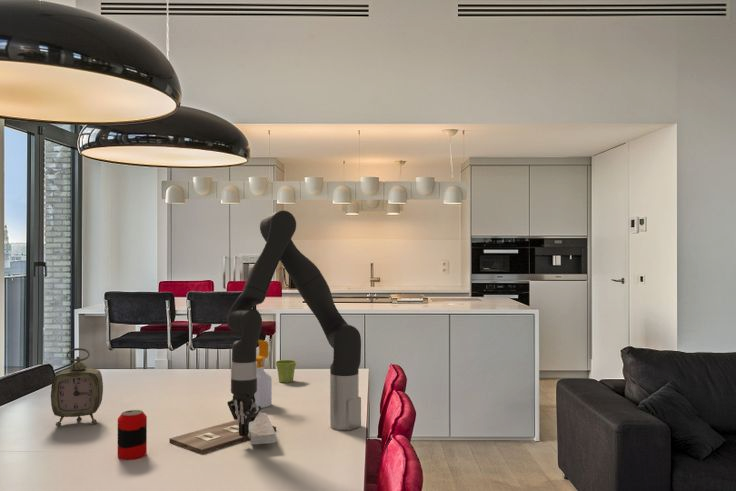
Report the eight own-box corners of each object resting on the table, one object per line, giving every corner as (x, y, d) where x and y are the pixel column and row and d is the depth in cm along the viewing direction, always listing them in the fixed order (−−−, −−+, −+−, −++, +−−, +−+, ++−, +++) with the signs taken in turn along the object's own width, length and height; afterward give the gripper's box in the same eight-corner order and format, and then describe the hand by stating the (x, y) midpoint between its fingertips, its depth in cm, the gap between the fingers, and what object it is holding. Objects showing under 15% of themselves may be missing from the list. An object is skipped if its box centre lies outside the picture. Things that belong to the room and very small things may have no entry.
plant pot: (272, 380, 263) (272, 360, 263) (293, 378, 267) (293, 359, 267) (278, 384, 254) (278, 364, 254) (299, 382, 258) (299, 362, 258)
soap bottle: (241, 406, 218) (241, 339, 219) (257, 401, 226) (257, 336, 227) (261, 409, 214) (261, 341, 214) (276, 404, 222) (276, 338, 223)
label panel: (276, 430, 190) (276, 424, 190) (201, 453, 168) (201, 447, 168) (243, 421, 200) (243, 415, 200) (169, 442, 178) (169, 436, 178)
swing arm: (264, 417, 196) (264, 408, 196) (276, 442, 171) (276, 431, 171) (243, 419, 194) (243, 409, 194) (251, 444, 169) (251, 433, 169)
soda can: (137, 449, 172) (137, 407, 172) (151, 455, 167) (151, 412, 167) (112, 456, 166) (112, 413, 166) (126, 462, 161) (126, 418, 161)
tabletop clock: (50, 429, 191) (50, 351, 191) (57, 421, 200) (57, 346, 200) (99, 425, 195) (99, 349, 195) (103, 418, 204) (104, 345, 204)
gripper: (268, 377, 173) (268, 437, 173) (239, 371, 182) (239, 428, 182) (248, 381, 168) (248, 443, 167) (219, 375, 176) (219, 434, 176)
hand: (243, 435), depth 175 cm, fingers closed
